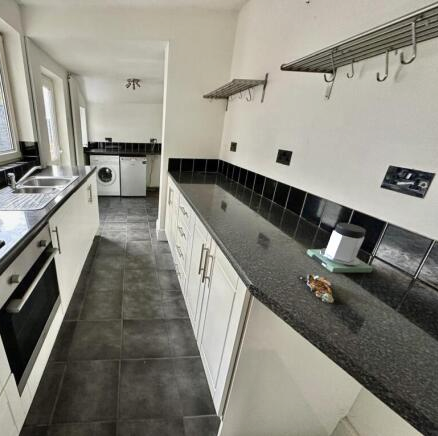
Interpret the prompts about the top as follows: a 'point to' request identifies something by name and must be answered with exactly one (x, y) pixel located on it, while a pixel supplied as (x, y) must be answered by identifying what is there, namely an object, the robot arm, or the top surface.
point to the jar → (345, 242)
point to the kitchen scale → (336, 267)
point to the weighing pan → (340, 262)
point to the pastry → (320, 287)
